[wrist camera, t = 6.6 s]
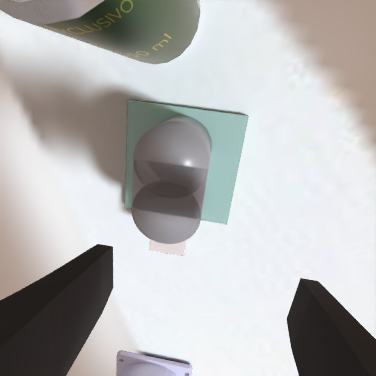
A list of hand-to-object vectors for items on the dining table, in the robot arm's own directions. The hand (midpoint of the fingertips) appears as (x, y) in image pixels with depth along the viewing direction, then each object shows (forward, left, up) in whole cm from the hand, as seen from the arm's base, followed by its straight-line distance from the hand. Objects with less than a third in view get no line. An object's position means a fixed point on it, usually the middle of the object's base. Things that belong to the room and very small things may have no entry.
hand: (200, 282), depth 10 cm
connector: (+2, +2, -9) cm, 10 cm away
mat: (+2, +2, -10) cm, 10 cm away
